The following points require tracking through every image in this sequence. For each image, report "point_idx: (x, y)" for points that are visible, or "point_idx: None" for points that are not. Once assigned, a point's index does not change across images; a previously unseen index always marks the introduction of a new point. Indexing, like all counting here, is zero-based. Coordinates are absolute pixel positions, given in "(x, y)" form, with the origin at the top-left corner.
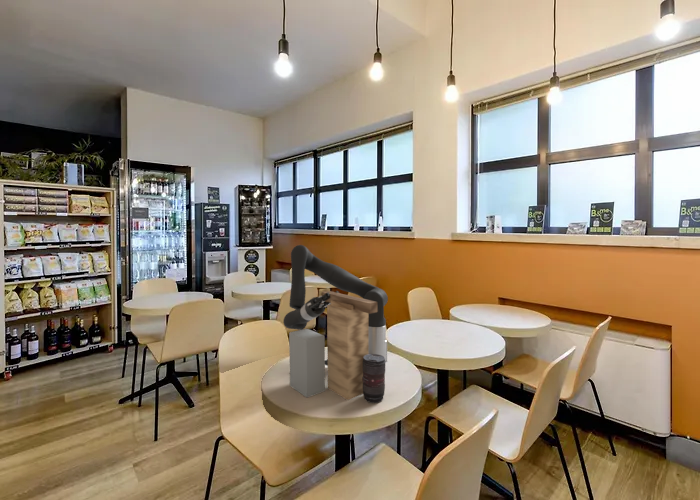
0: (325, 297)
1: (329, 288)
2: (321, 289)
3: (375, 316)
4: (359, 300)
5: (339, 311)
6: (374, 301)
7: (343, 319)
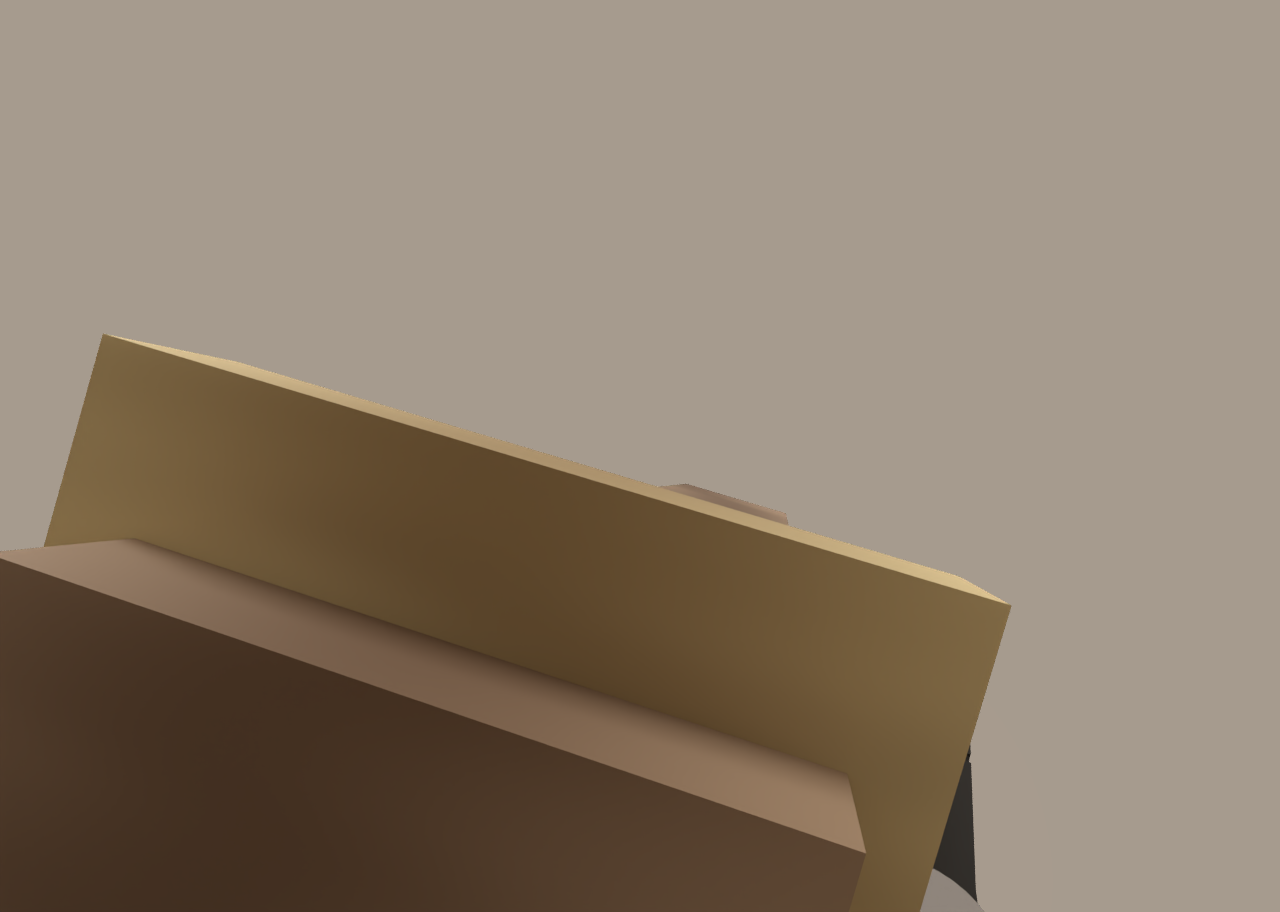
0: None
1: (210, 356)
2: (864, 551)
3: None
4: (771, 516)
5: None
6: (690, 486)
7: None
